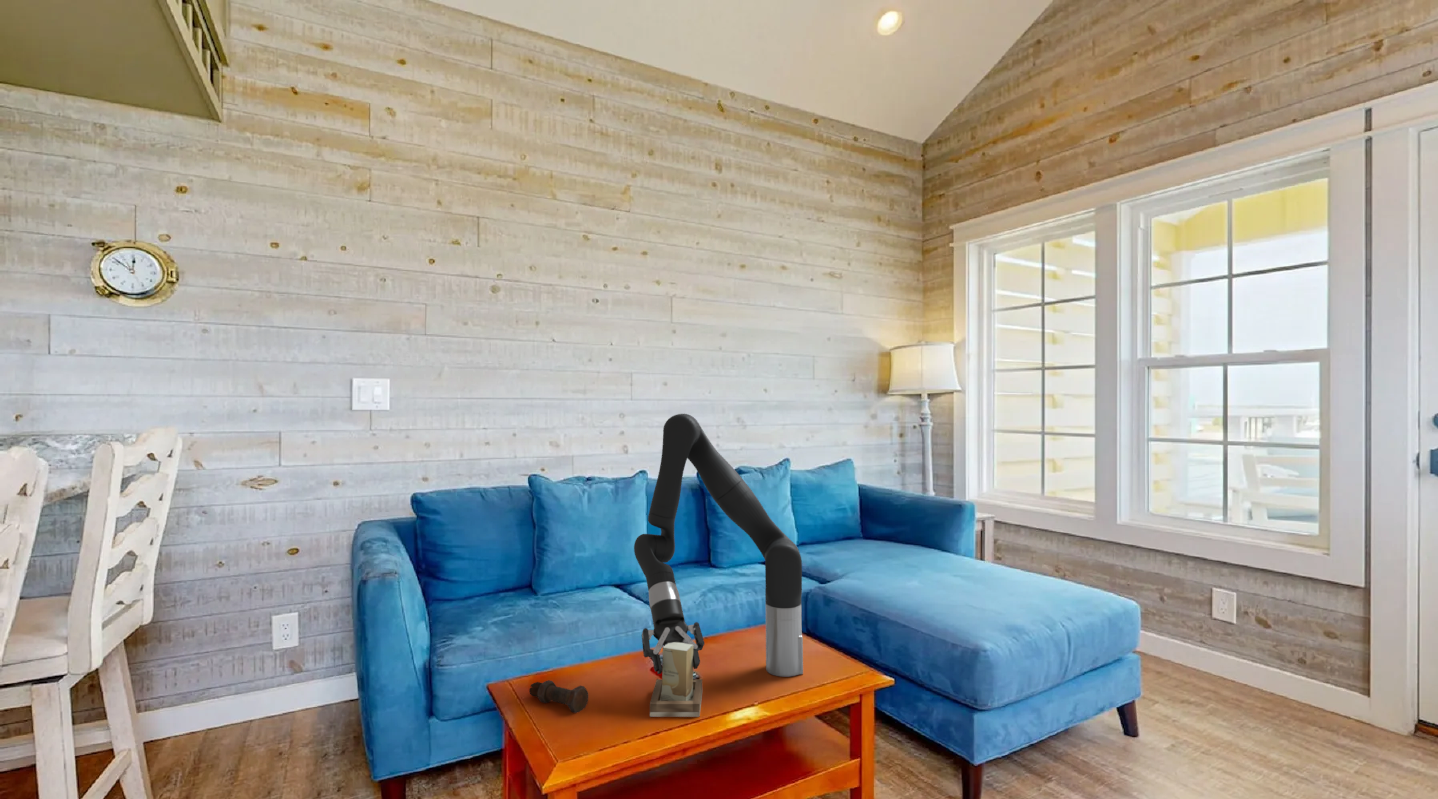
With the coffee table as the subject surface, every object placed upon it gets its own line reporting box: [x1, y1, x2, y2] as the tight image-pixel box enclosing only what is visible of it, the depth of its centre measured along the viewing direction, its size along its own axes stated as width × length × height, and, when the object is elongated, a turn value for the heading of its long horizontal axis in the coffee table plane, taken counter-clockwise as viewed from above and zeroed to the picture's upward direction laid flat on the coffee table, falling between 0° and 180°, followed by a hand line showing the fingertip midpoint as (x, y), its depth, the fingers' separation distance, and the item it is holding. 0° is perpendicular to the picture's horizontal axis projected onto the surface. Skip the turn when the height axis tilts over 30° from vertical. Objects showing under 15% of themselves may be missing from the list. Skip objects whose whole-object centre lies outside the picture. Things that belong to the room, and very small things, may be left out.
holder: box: [649, 678, 703, 718], centre depth 152 cm, size 11×13×3 cm
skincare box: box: [661, 642, 694, 701], centre depth 152 cm, size 6×4×12 cm
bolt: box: [528, 680, 589, 714], centre depth 153 cm, size 6×5×15 cm
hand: (678, 670), depth 151 cm, fingers open, 8 cm apart
